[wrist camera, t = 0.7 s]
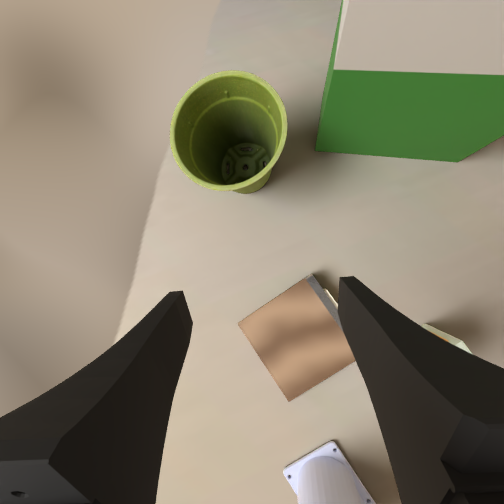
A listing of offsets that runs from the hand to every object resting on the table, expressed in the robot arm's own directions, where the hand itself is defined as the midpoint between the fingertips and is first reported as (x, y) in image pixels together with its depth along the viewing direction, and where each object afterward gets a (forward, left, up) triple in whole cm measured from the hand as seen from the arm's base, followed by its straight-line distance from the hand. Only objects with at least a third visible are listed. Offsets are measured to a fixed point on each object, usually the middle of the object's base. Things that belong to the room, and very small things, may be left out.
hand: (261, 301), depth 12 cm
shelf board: (-8, +3, -23) cm, 25 cm away
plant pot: (+15, -4, -24) cm, 28 cm away
